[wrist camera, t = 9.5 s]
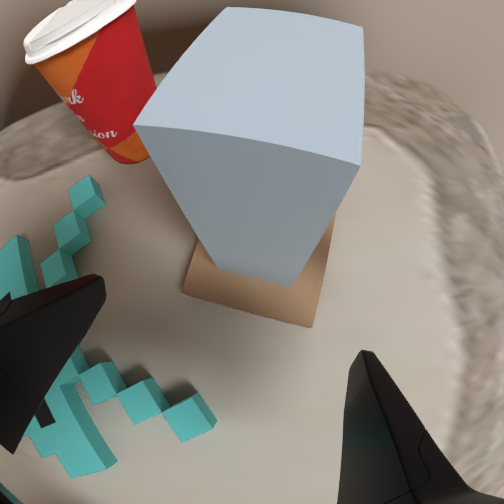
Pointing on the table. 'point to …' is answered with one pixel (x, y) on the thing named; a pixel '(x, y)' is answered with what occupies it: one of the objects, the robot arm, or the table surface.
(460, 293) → the table surface
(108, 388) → the alien figure
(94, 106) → the paper cup
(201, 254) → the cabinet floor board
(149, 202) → the table surface
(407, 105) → the table surface
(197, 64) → the pale blue upright block
